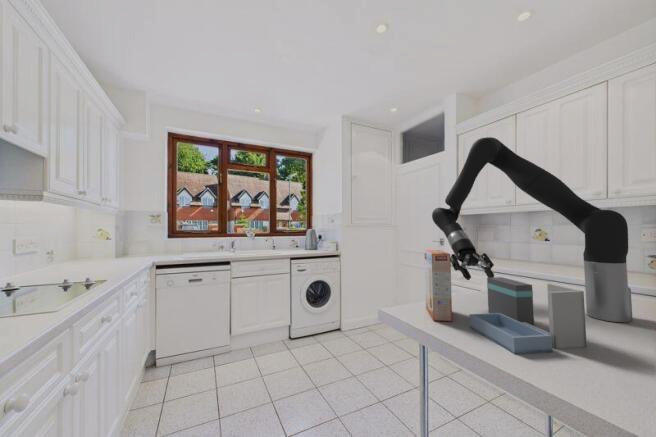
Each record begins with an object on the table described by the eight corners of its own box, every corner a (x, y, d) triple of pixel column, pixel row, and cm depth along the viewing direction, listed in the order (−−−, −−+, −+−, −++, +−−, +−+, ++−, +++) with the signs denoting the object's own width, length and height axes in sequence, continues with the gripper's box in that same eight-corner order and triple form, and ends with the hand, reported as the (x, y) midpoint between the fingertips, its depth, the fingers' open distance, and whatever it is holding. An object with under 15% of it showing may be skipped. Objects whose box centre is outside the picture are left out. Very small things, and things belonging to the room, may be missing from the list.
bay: (551, 332, 72) (549, 283, 72) (586, 346, 63) (583, 291, 63) (523, 333, 71) (521, 284, 72) (554, 348, 62) (551, 292, 63)
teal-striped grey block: (503, 313, 87) (501, 277, 88) (534, 327, 75) (532, 284, 76) (488, 314, 87) (486, 277, 87) (517, 328, 75) (515, 285, 75)
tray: (499, 325, 77) (499, 312, 77) (552, 351, 61) (551, 335, 61) (469, 326, 76) (469, 314, 77) (514, 354, 60) (513, 337, 60)
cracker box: (453, 322, 80) (451, 253, 81) (432, 321, 82) (430, 253, 82) (443, 308, 94) (441, 249, 95) (425, 307, 95) (423, 249, 96)
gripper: (447, 238, 103) (465, 272, 91) (481, 237, 104) (504, 271, 92) (440, 250, 108) (457, 285, 96) (473, 249, 109) (494, 283, 97)
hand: (480, 278), depth 94 cm, fingers open, 8 cm apart
